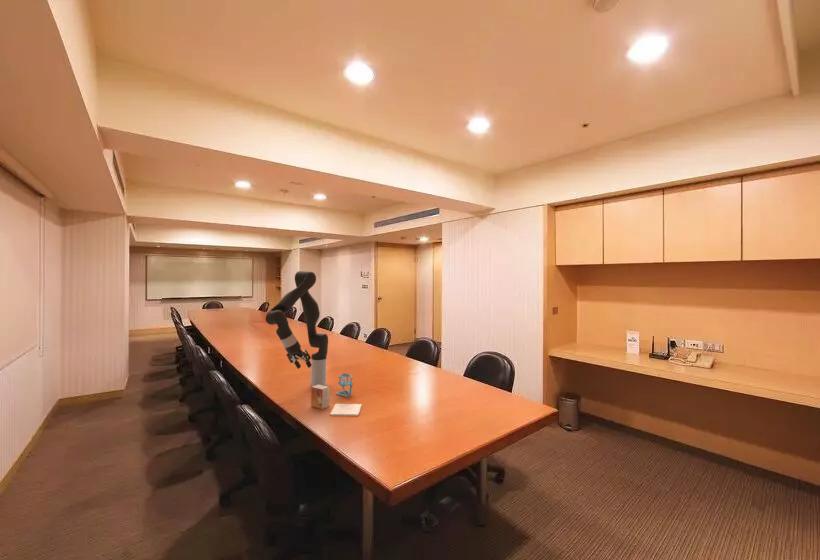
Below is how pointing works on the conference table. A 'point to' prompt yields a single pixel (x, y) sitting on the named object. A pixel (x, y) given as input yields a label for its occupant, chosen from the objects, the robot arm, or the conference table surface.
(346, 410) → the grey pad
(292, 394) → the conference table surface
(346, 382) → the chair
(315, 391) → the small box
